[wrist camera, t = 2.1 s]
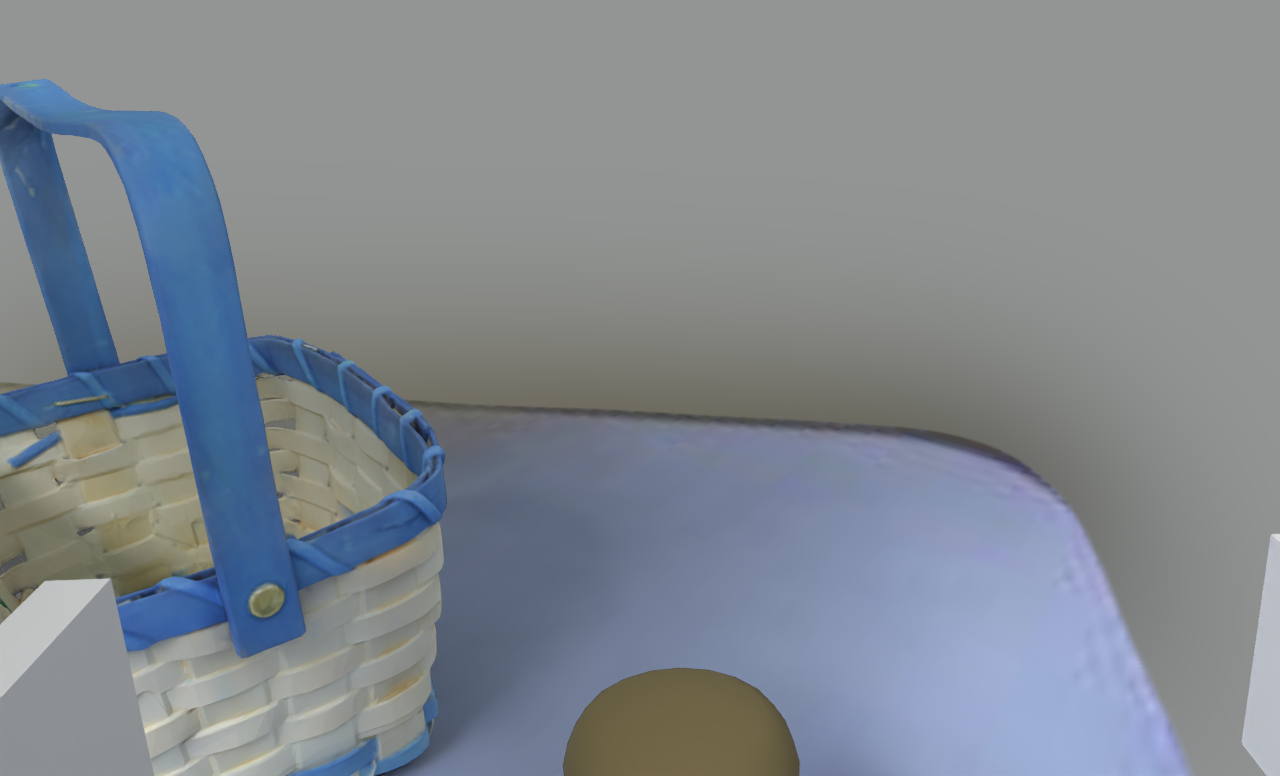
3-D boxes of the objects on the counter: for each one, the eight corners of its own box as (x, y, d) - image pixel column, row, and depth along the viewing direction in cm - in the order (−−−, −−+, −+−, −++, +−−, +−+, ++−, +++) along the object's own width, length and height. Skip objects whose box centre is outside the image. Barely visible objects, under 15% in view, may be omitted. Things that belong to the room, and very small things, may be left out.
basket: (-59, 699, 46) (-231, 95, 39) (335, 575, 55) (259, 59, 47) (9, 1070, 30) (-265, 153, 22) (556, 811, 38) (496, 81, 31)
